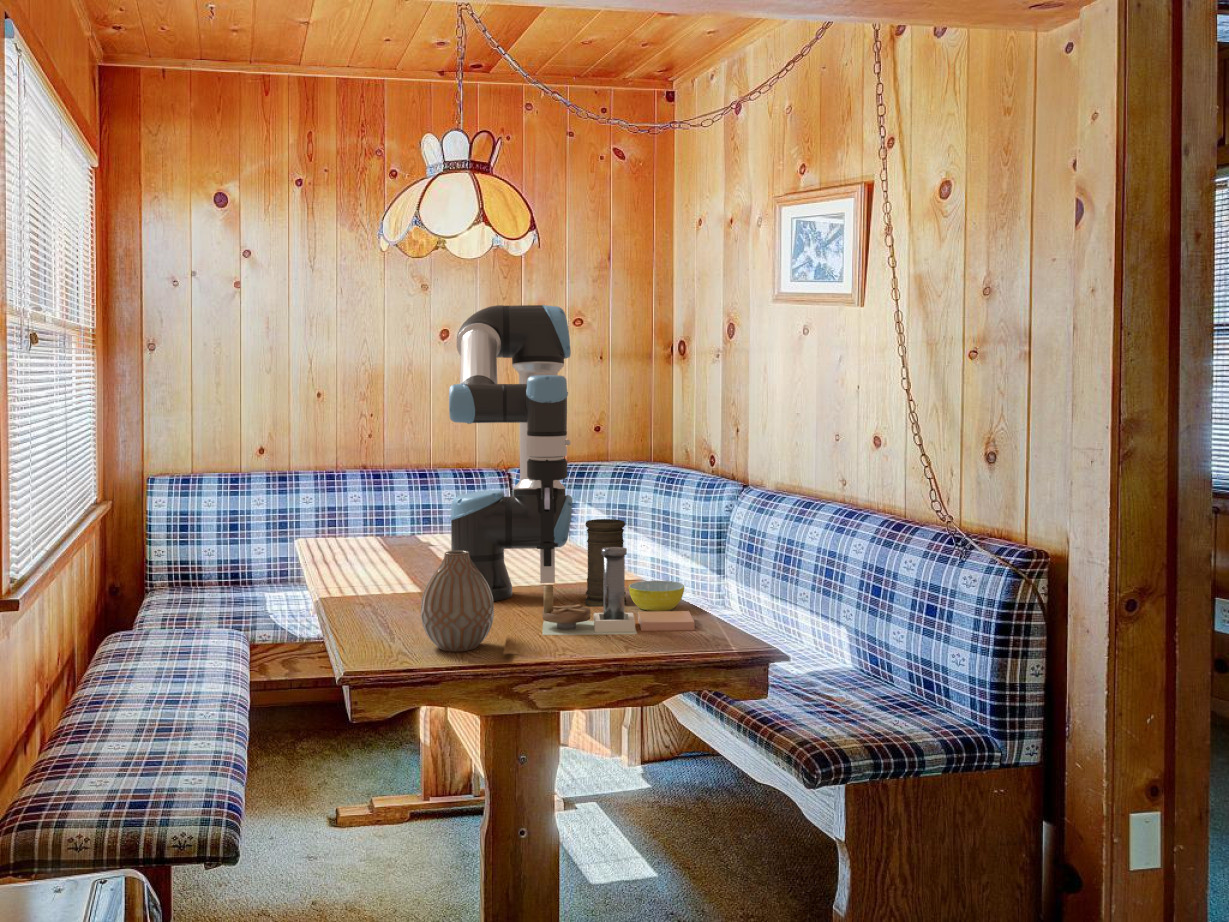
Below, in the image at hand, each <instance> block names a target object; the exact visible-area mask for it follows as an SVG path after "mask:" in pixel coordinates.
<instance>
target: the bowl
mask: <svg viewBox="0 0 1229 922" xmlns="http://www.w3.org/2000/svg"><path fill="white" fill-rule="evenodd" d="M628 592H629V596H630V597H631V600H632V601H633V603H634V604H635V605H636V606H637V607H638V608H639V609H640V610H643V611H645V612H653V611H671V610H673V609H674V608H675V607H677V606H678V605H679V603H680V602H681V601H682V598H683V596H684V592H685V584H683V583H681V582H678V581H673V580H672V581H669V580H644V581H636V582H633V583H629V585H628Z"/></svg>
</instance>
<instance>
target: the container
mask: <svg viewBox="0 0 1229 922" xmlns="http://www.w3.org/2000/svg"><path fill="white" fill-rule="evenodd" d="M625 526H626V521H625V520H622V519H616V518H614V519H613V518H612V519H611V518H595V519H590V520H586V521H585V527H586V528H587V529H586V532H587V540H586V542H587V577H586V582H587V584H586V585H587V586H586V592H585V595H586V597H585V599H584V602H585V605H586V606H587V607H593V608H594V607H595V608H597V607H600V608H602V607H603V608H604V593H603V555H602V554H601V549H602V548H605V547H623V548H624V542H625V540H624V532H625V529H624V528H625ZM625 595H626V591H625ZM626 604H627V598H626V597H625V605H626Z"/></svg>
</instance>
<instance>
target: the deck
mask: <svg viewBox="0 0 1229 922" xmlns="http://www.w3.org/2000/svg"><path fill="white" fill-rule="evenodd" d="M541 633H542V634H541V635H542V636H582V635H583V636H584V635H585V636H586V635H587V636H588V635H589V636H591V635H593V636H595V635H598V636H600V635H602V636H603V635H604V636H605V635H606V636H607V635H637V634H638V631H637V629H636V620H635V615H634V613H633V612H625V620H604V612H593V620H587V621H584V622H578V623H553V622H548V621H545V620H543V622H542V632H541Z"/></svg>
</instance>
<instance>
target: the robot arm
mask: <svg viewBox="0 0 1229 922" xmlns="http://www.w3.org/2000/svg"><path fill="white" fill-rule="evenodd" d="M568 325H569V324H568V320H567V316H566V312H565V310H564V309H563V308H562V307H560V306H555V305H545V304H542V305H541V304H538V305H536V304H533V305H530V304H528V305H524V304H523V305H521V304H519V305H502V304H501V305H499V304H498V305H491V306H488V307H485V308H482V309H480V310H478V311H476V312H475V313H473V314H472V315H470V316H469V317H468V318H467V319H466V320H465V321H464V322H463V323H462V325H461V327H460V328H459V329H458V331H457V334H456V349H457V353H458V354H459V356H460V373H459V383H456V384H452V385H450V387H449V391H448V396H449V397H448V412H449V413H448V415H449V419H450V421H452V422H454V423H459V424H460V423H463V424H468V425H470V424H495V423H496V424H497V423H498V424H501V423H502V424H503V423H506V424H507V423H508V424H509V423H510V424H511V423H513V424H514V423H519V481H518V482H517V484H516V485H515V486H514V487H513V489H512V492H513V493H512V494H513V495H510V496H505V493H504V491H503V489H489V490H488V489H487V490H481V491H474V492H473V491H472V492H468V493H464V494H460V495H458V496H456V497H454V498H453V500H451V507H450V517H449V519H450V525H451V526H450V530H451V533H450V535H451V536H450V539H451V541H450V542H451V543H450V545H451V546H450V547H451V548H450V551H468V552H469V555H470V558H471V560H472V562H473V564H474V565H475V566H476V567H477V569H478V570H479V571H480V573H481V574H482V575H483V577H484V578H485V580H486V581H487V583H488V585H489V587H490V590H491V593H492V596H493V602H495V601H496V602H497V601H501V600H502V601H503V600H506V599H509V598H511V597H512V596H513V585H512V584H513V583H512V582H511V578H510V575H509V573H508V570H507V566H506V563H505V550H511V549H512V550H515V549H516V550H518V549H520V550H521V549H527V550H528V549H530V550H531V549H532V550H533V549H537V550H539V551H540V552H539V554H540V555H539V556H540V559H539V560H540V565H539V567H540V576H539V577H540V579H539V580H540V584H555V583H556V563H555V562H556V556H555V555H556V552H555V551H556V550H555V549H558V548H563V547H564V546H565V545H566V543H567V541H568V539H569V534H570V529H571V528H570V527H571V520H572V513H573V497H572V496H571V495H569V494H566V486H564V485H563V483H562V482H560V481H561V480H565V479H567V478H568V460H567V459H566V458H565V457H566V456H568V447H567V446H570V445H571V440H569V439H567V438H568V431H567V430H568V396H569V392H568V385H567V384H568V381H567V378H566V377H565V376H563V375H558V374H559V372H560V371H561V370H562V369H563V367H565V359H569V358H570V357H571V352H572V351H571V340H570V339H571V338H570V332H569V326H568ZM498 358H503V359H506V358H507V359H511V364H512V365H511V366H512V368H513V369H514V370H515V371H516V372H517V373H518V377H519V378H518V382H519V383H498Z"/></svg>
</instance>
